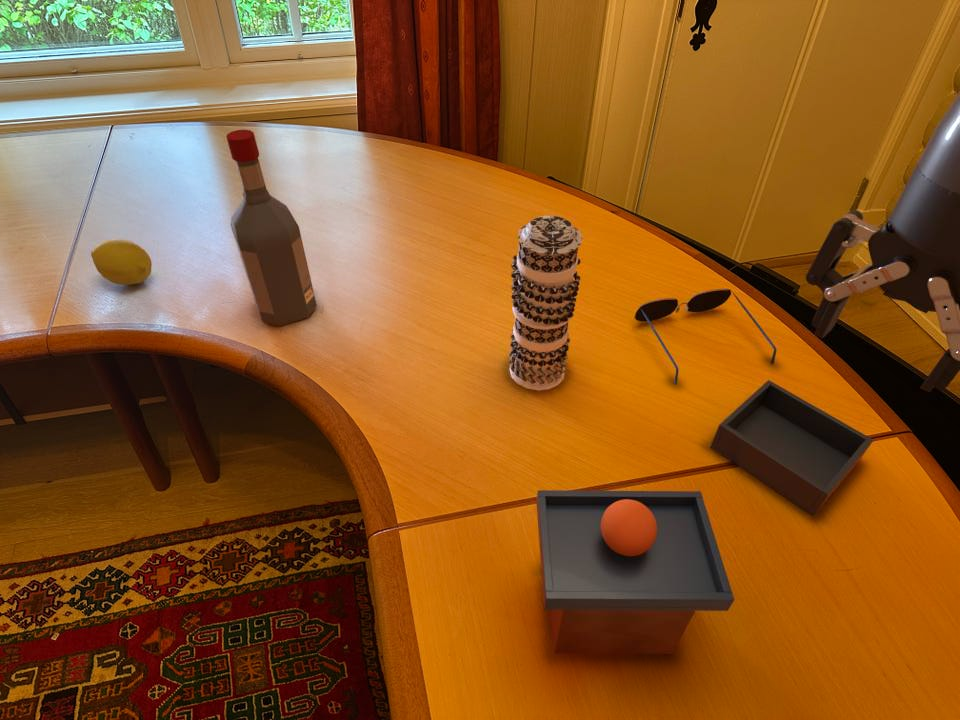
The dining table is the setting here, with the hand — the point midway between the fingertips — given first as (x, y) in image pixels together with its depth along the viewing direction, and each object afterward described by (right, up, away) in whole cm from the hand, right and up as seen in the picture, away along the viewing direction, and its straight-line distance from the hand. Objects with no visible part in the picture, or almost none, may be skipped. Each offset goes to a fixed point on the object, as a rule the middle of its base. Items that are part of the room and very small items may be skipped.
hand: (873, 357), depth 50 cm
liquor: (-65, +8, +53) cm, 85 cm away
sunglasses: (+3, +2, +47) cm, 47 cm away
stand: (-19, -27, +15) cm, 36 cm away
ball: (-19, -15, +5) cm, 25 cm away
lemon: (-95, +14, +59) cm, 113 cm away
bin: (+8, -13, +31) cm, 34 cm away
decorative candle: (-24, -2, +42) cm, 49 cm away
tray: (-19, -18, +7) cm, 27 cm away
